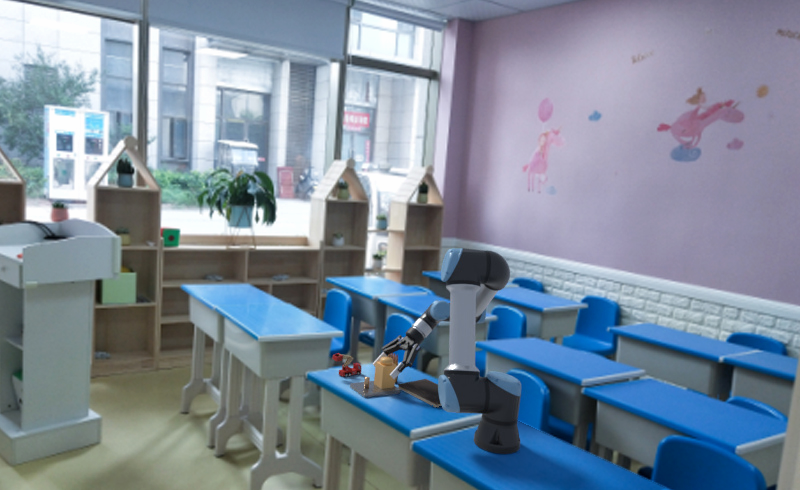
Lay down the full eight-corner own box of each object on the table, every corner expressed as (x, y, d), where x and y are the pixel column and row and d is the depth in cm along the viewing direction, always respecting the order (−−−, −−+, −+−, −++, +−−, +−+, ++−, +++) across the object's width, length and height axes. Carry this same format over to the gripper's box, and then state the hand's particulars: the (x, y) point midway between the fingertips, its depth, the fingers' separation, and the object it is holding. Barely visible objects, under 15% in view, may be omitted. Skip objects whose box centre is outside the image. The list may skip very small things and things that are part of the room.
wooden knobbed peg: (394, 387, 242) (397, 360, 241) (381, 388, 239) (383, 361, 237) (386, 382, 247) (389, 355, 246) (373, 383, 244) (376, 357, 242)
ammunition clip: (397, 383, 252) (400, 354, 251) (393, 383, 251) (396, 355, 249) (382, 374, 260) (385, 347, 259) (379, 375, 259) (381, 347, 258)
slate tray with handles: (399, 393, 240) (401, 379, 239) (364, 397, 232) (365, 383, 231) (384, 383, 250) (386, 370, 249) (349, 386, 242) (351, 373, 241)
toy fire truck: (362, 374, 258) (364, 352, 257) (335, 378, 250) (337, 355, 248) (357, 372, 261) (359, 350, 260) (330, 376, 252) (332, 353, 251)
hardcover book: (435, 409, 228) (436, 403, 228) (396, 389, 246) (397, 384, 245) (465, 402, 238) (466, 396, 238) (426, 383, 256) (426, 378, 256)
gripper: (440, 347, 239) (404, 388, 233) (406, 330, 260) (372, 367, 254) (430, 334, 236) (394, 375, 229) (397, 318, 257) (362, 356, 250)
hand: (382, 371), depth 241 cm, fingers open, 13 cm apart
